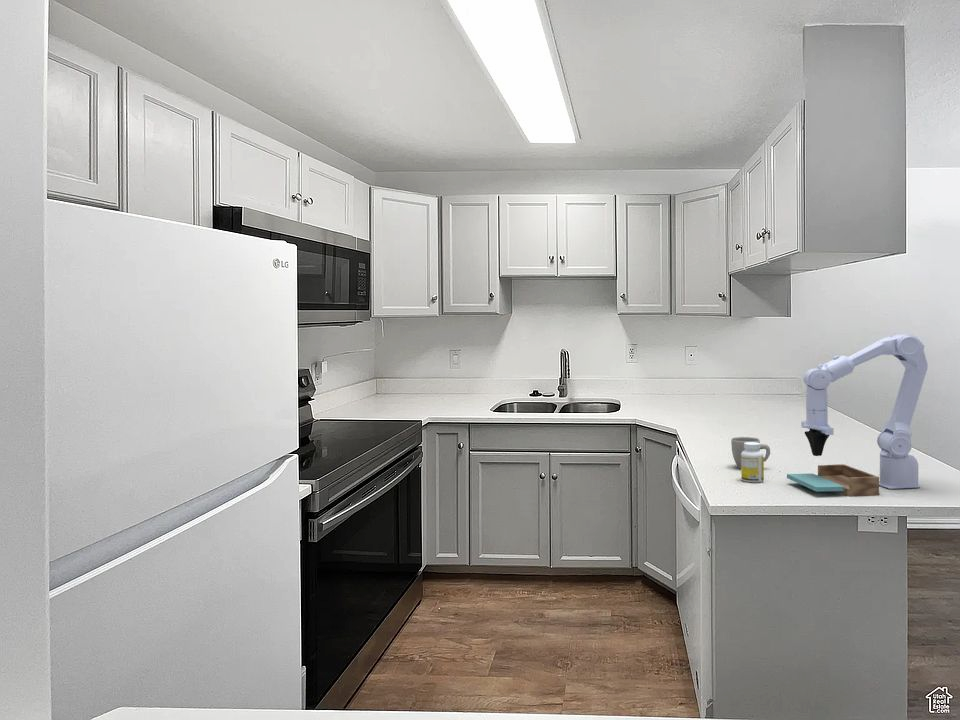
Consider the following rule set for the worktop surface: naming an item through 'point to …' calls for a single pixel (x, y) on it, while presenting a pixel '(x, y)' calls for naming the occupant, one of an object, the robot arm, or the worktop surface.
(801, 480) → the teal box lid
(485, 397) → the worktop surface
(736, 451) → the mug
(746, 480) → the pill bottle
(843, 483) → the wooden box
